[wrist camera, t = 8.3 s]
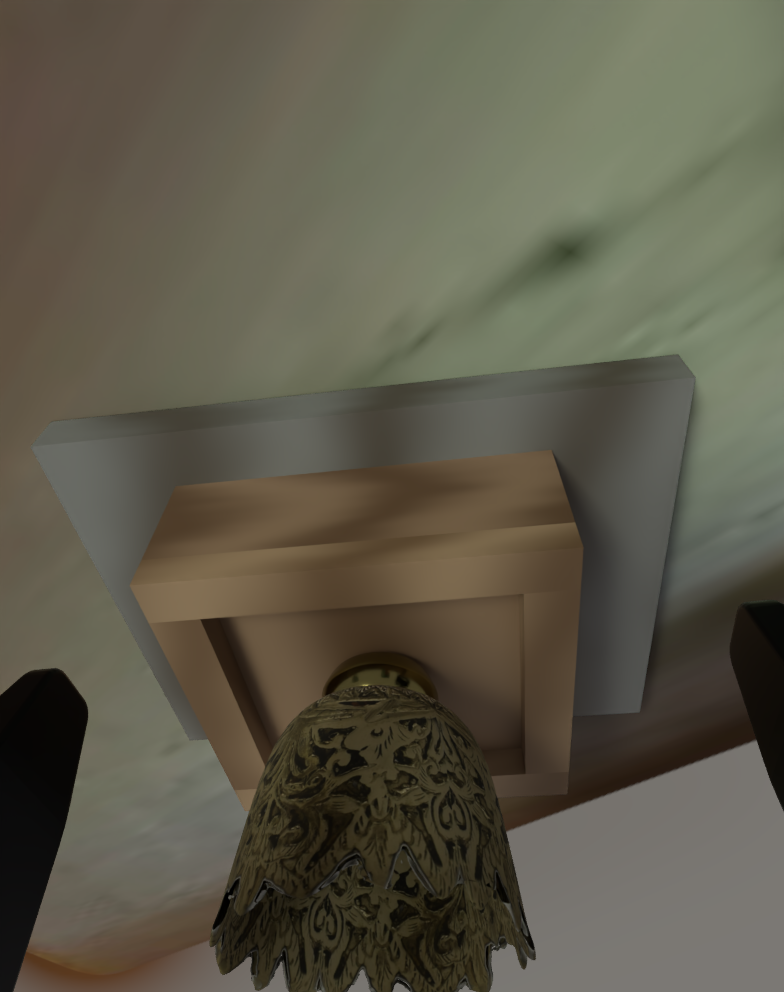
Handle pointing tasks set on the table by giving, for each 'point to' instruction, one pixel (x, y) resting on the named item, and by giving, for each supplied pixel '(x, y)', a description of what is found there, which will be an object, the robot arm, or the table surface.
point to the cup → (373, 846)
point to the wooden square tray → (392, 549)
